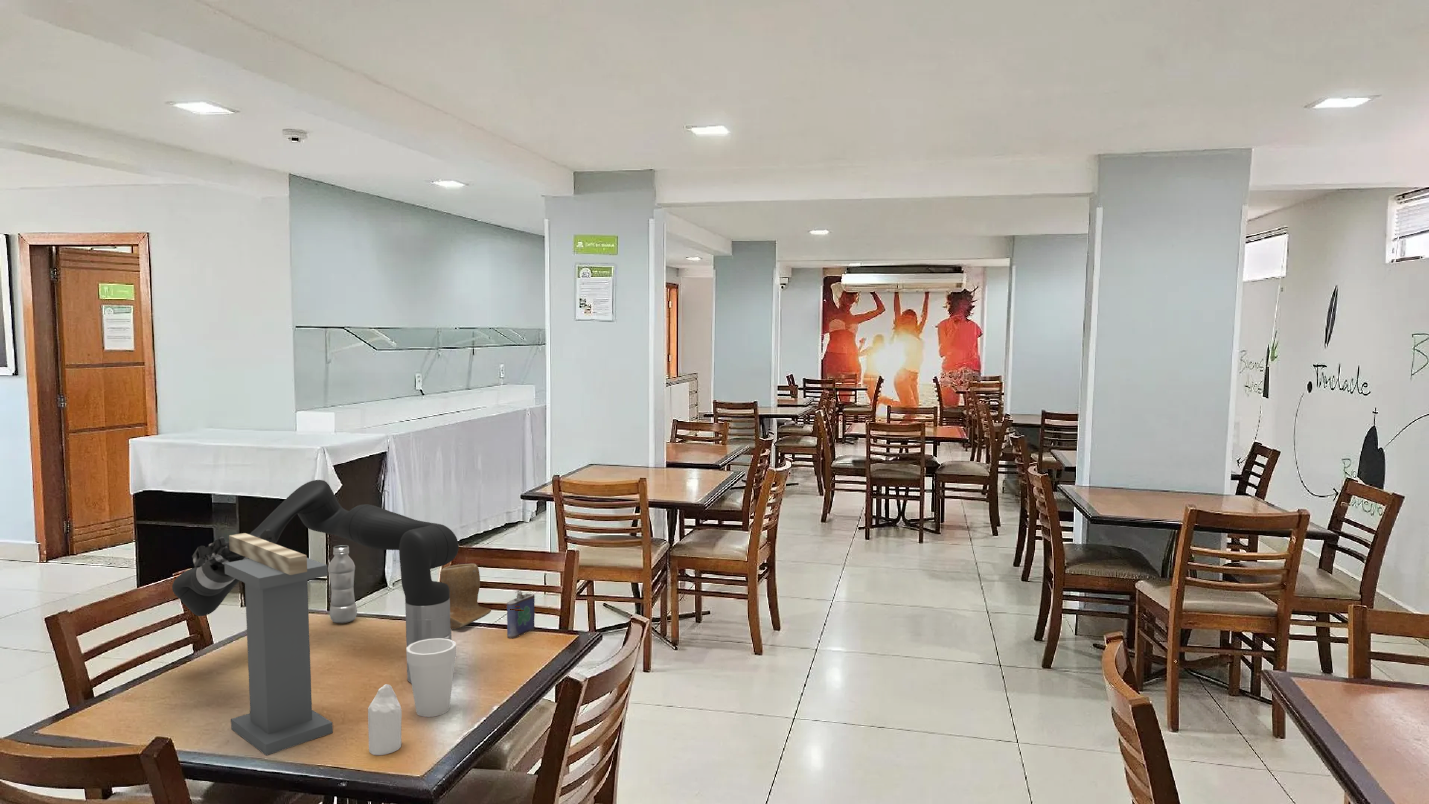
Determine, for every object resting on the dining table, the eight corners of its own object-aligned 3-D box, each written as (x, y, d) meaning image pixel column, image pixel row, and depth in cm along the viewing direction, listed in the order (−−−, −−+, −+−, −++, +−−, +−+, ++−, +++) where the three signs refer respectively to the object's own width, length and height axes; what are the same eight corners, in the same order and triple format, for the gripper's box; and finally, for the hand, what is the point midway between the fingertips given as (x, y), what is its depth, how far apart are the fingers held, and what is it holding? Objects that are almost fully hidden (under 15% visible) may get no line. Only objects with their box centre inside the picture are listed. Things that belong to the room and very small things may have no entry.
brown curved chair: (459, 610, 238) (458, 556, 237) (497, 615, 234) (496, 560, 233) (423, 628, 224) (422, 570, 223) (463, 633, 220) (461, 574, 219)
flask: (512, 639, 215) (511, 596, 214) (503, 637, 216) (502, 595, 216) (537, 628, 223) (536, 587, 222) (528, 627, 225) (527, 586, 224)
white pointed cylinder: (381, 675, 160) (407, 678, 159) (383, 739, 161) (409, 742, 160) (359, 688, 155) (386, 691, 153) (361, 753, 156) (388, 757, 154)
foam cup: (406, 704, 176) (405, 641, 175) (454, 697, 180) (452, 635, 179) (410, 723, 168) (408, 657, 167) (459, 715, 171) (458, 650, 170)
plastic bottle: (347, 626, 225) (345, 550, 223) (324, 625, 226) (321, 549, 225) (362, 619, 231) (360, 544, 230) (339, 617, 232) (337, 543, 231)
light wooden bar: (307, 571, 157) (306, 555, 157) (290, 575, 155) (289, 558, 154) (245, 547, 175) (245, 532, 175) (229, 550, 173) (229, 535, 173)
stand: (332, 732, 164) (327, 565, 162) (266, 755, 155) (259, 578, 153) (295, 709, 174) (290, 551, 172) (231, 729, 165) (224, 563, 163)
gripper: (178, 555, 176) (202, 525, 167) (253, 543, 187) (279, 514, 177) (186, 590, 174) (211, 562, 165) (261, 576, 185) (288, 548, 175)
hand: (246, 537), depth 171 cm, fingers open, 8 cm apart
